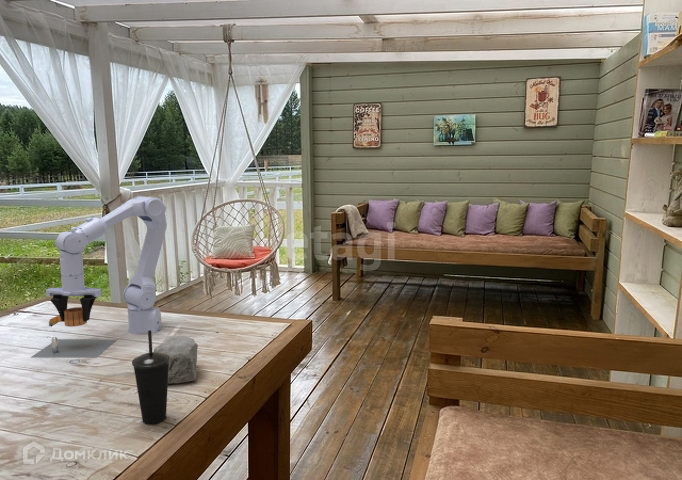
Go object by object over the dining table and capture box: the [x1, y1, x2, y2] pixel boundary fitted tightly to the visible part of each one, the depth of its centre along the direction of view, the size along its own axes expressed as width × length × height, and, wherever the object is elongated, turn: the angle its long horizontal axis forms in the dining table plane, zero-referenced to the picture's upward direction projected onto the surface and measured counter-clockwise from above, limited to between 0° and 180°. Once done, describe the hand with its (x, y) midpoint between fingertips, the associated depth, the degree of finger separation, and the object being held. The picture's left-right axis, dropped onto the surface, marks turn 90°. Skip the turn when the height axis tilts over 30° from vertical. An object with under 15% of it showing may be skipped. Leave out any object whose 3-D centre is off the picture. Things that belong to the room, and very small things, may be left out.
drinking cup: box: [131, 330, 170, 426], centre depth 109 cm, size 8×8×20 cm
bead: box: [64, 306, 88, 327], centre depth 145 cm, size 6×6×4 cm
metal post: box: [51, 336, 59, 354], centre depth 142 cm, size 2×2×4 cm
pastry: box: [48, 315, 65, 327], centre depth 172 cm, size 9×7×4 cm
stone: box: [153, 335, 199, 385], centre depth 131 cm, size 13×12×10 cm
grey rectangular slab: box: [30, 338, 118, 359], centre depth 146 cm, size 18×14×2 cm
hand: (75, 320), depth 146 cm, fingers closed on bead, 6 cm apart
